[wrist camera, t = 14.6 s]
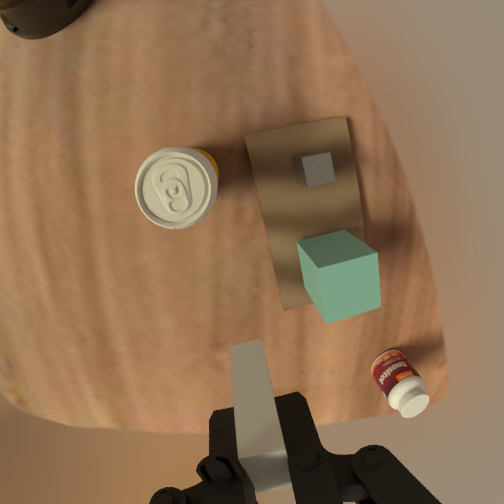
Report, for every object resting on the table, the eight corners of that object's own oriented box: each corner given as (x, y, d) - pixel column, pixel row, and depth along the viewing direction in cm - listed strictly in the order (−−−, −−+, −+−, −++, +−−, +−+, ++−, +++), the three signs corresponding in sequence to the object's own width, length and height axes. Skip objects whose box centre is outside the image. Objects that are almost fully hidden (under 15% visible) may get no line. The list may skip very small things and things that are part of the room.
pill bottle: (393, 341, 46) (427, 383, 35) (407, 360, 48) (439, 400, 37) (363, 366, 47) (391, 411, 36) (379, 383, 48) (405, 426, 38)
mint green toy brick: (296, 241, 37) (318, 268, 28) (344, 229, 37) (377, 252, 29) (304, 287, 39) (326, 323, 30) (350, 275, 39) (380, 306, 30)
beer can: (209, 140, 34) (202, 133, 20) (225, 191, 36) (228, 217, 22) (159, 158, 34) (119, 163, 20) (175, 207, 36) (147, 244, 22)
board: (243, 135, 35) (244, 134, 34) (341, 117, 35) (345, 116, 34) (282, 306, 42) (284, 311, 41) (366, 283, 42) (370, 286, 41)
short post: (290, 156, 35) (301, 157, 30) (315, 151, 35) (330, 152, 30) (296, 182, 36) (307, 187, 31) (320, 177, 36) (335, 181, 31)
